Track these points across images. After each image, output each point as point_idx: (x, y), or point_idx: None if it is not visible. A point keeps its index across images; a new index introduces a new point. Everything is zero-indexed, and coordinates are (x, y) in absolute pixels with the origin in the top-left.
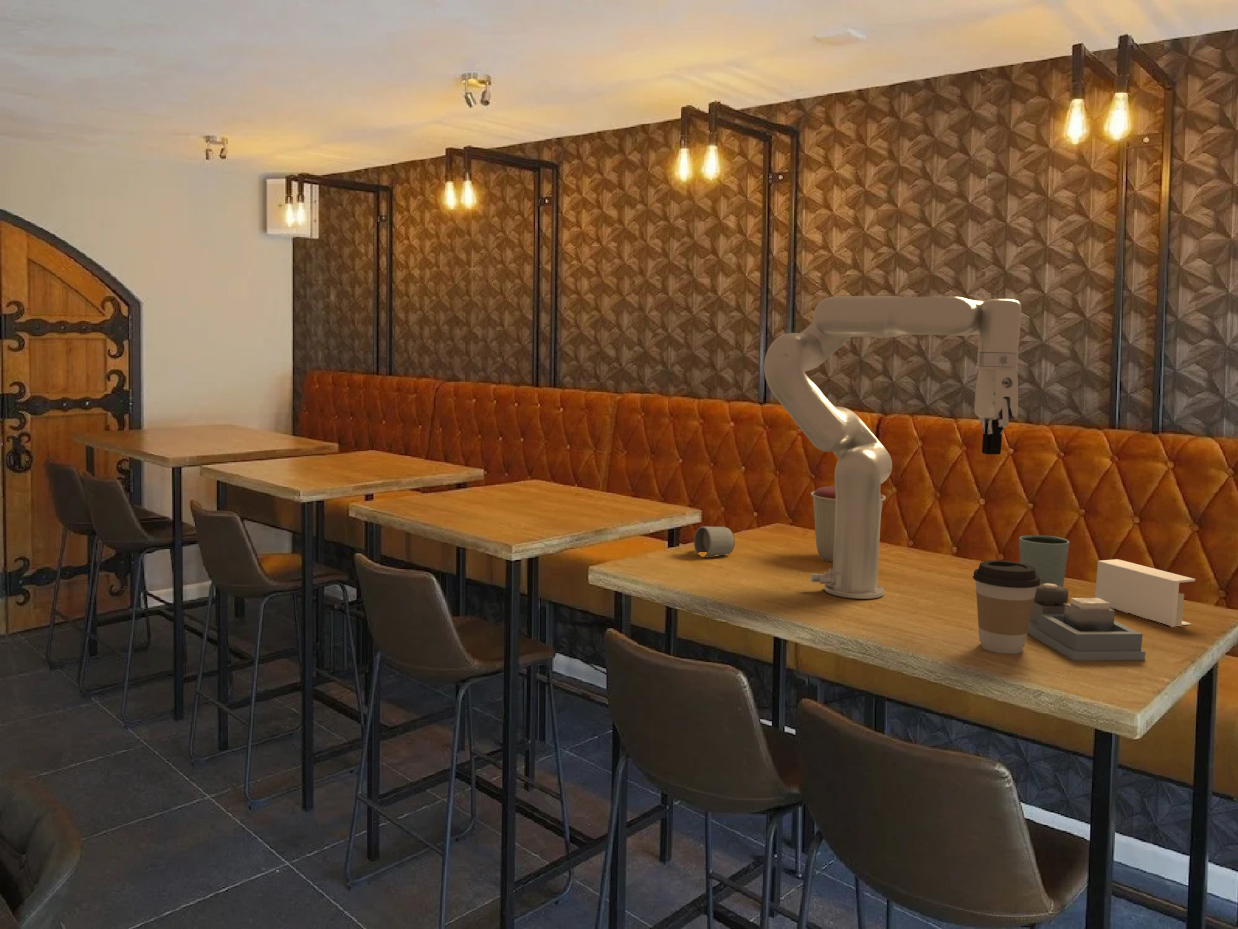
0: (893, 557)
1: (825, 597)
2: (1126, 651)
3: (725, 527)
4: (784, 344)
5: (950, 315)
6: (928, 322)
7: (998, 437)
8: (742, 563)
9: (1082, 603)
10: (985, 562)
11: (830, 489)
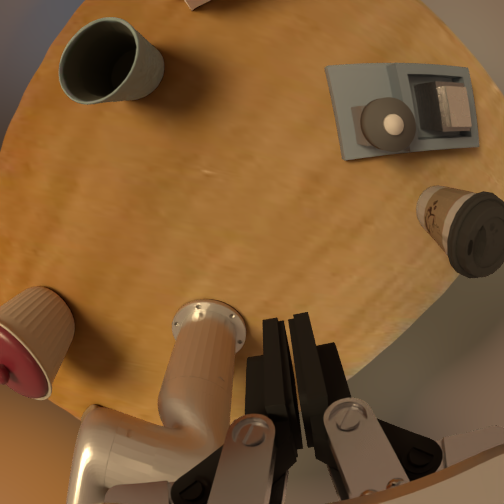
0: (13, 252)
1: (242, 357)
2: None
3: None
4: None
5: None
6: None
7: (349, 397)
8: (120, 400)
9: (471, 125)
10: (474, 268)
11: (25, 390)
